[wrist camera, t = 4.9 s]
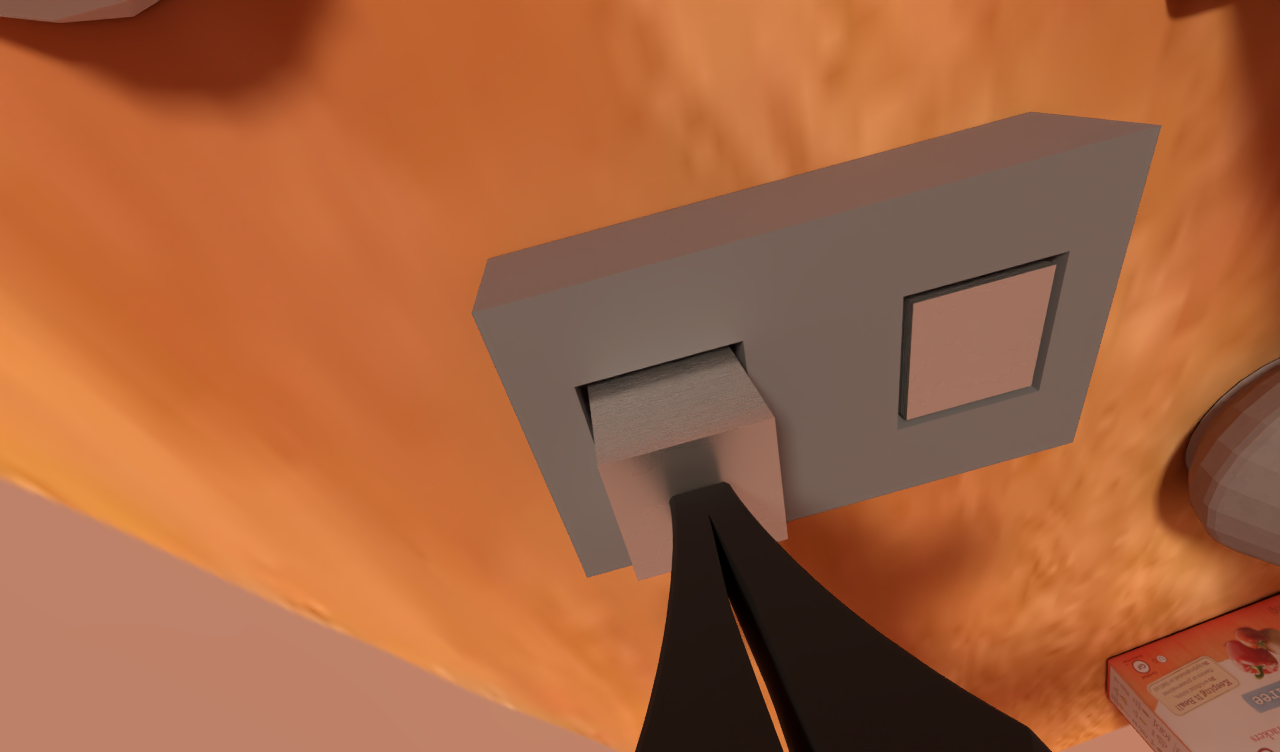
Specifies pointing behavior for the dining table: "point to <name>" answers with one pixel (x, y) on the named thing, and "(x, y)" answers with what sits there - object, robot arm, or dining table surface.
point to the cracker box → (1206, 685)
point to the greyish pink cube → (683, 447)
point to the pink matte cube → (972, 338)
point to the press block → (826, 308)
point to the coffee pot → (1240, 467)
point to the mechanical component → (72, 9)
